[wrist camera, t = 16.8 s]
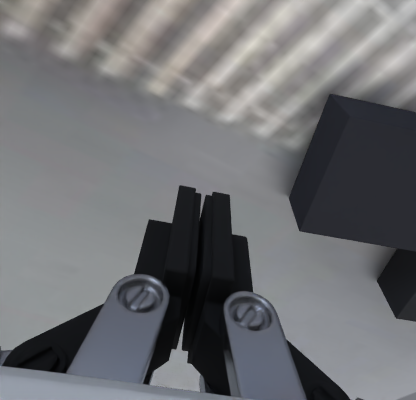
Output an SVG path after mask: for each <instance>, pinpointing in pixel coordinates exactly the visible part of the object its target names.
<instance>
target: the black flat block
mask: <svg viewBox="0 0 416 400" xmlns="http://www.w3.org/2000/svg"><path fill="white" fill-rule="evenodd" d="M377 282H378V284H379V286H380V288H381V290H382V292H383V294H384V296H385V298H386V300H387V302H388V304H389V306H390V308H391V310H392V312H393V313H394V315H395V317H396V318H397V319H403V320H410V321H416V252H415V251H410V250H404V249H397V251H396V252H395V254H394V256H393V257H392V259H391V260H390V262H389V263H388V265H387V266H386V268H385V269H384V271H383V273H382V274H381V276H380V277H379V279H378V280H377Z"/></svg>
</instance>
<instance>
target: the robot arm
mask: <svg viewBox="0 0 416 400" xmlns="http://www.w3.org/2000/svg"><path fill="white" fill-rule="evenodd" d="M195 191H196V188H191V187H186V186H181V185H180V186H179V191H178V196H177V201H176V206H175V211H174V217H173V222H172V223H167V222H161V221H155V220H150V219H149V221H148V225H147V228H146V232H145V236H144V240H143V243H142V247H141V251H140V254H139V258H138V262H137V265H136V269H135V273H134V274H133V275H129V276H126V277H124V278H122V279H121V280H119V281H118V282H117V283H116V284H115V286H114V287H113V289H112V290H111V292H110V294H109V296H108V298H107V299H106V301H105V303H104V304H102V305H100V306H98V307H96V308H94V309H92V310H90V311H88V312H85V313H83V314H81V315H79V316H77V317H75V318H73V319H71V320H69V321H67V322H65V323H63V324H61V325H59V326H56V327H54V328H52V329H50V330H48V331H46V332H44V333H42V334H40V335H38V336H36V337H34V338H32V339H30V340H27V341H25V342H24V343H22V344H21V345H19V346H17V347H16V348H15V349H14V350H6V351H1V346H0V400H350V399H349V397H348V396H347V394H346V393H345V392H344V391H343V390H342V389H341V388H340V387H339V386H338V385H337V384H336V383H335V382H333V381H332V380H331V379H330V378H329V377H328V376H327V375H326V374H325V373H323V372H322V371H321V370H320V369H319V368H318V367H317V366H316V365H314V364H313V363H312V362H311V361H310V360H309V359H308V358H307V357H305V356H304V355H303V354H302V353H301V352H300V351H299V350H298V349H297V348H295V347H294V346H293V345H292V344H291V343H290V342H289V341H288V340H286V338H285V335H284V332H283V329H282V326H281V323H280V320H279V318H278V315H277V312H276V310H275V309H274V307H273V306H272V304H271V303H270V302H269V301H268V300H266V299H265V298H263V297H262V296H260V295H258V294H255V293H253V287H252V278H251V269H250V260H249V251H248V242H247V238H246V237H244V236H239V235H233V234H232V228H231V210H230V195H228V194H223V193H218V192H213V193H212V196H210V195H206V197H205V200H204V205H203V209H202V213H201V217H200V206H201V194H200V193H195ZM199 220H200V221H199ZM184 318H185V319H184ZM183 322H184V330H183V340H182V350H183V351H188V361H187V363H190V364H192V365H193V366H194V367H195V368H196V370H197V371H198V372H199V373H200V374H201V375H200V381H199V385H200V392H196V391H188V390H181V389H174V388H167V387H159V386H152V385H150V383H151V380H152V377H153V372H154V370H156V369H157V368H159V367H160V366H162V365H163V364H164V363H166V362H167V361H169V357H170V353H171V349H177V345H178V341H179V337H180V333H181V329H182V326H183ZM356 400H363V399H360V398H358V397H357V398H356Z"/></svg>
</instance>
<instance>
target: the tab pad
mask: <svg viewBox="0 0 416 400" xmlns="http://www.w3.org/2000/svg"><path fill="white" fill-rule="evenodd" d="M289 200H290V203H291V206H292V210H293V213H294V216H295V219H296V222H297V225H298V228H299V231H301V232H307V233H313V234H318V235H324V236H330V237H335V238H341V239H347V240H353V241H358V242H364V243H370V244H375V245H381V246H387V247H393V248H398V249H404V250H410V251H415V252H416V112H412V111H407V110H402V109H398V108H393V107H389V106H384V105H379V104H375V103H370V102H366V101H361V100H357V99H352V98H347V97H343V96H338V95H334V94H330V95H329V97H328V100H327V102H326V105H325V107H324V110H323V112H322V115H321V118H320V120H319V123H318V125H317V128H316V130H315V133H314V135H313V138H312V141H311V143H310V146H309V148H308V151H307V153H306V156H305V158H304V161H303V163H302V166H301V169H300V171H299V174H298V176H297V179H296V181H295V184H294V186H293V189H292V191H291V194H290V197H289Z"/></svg>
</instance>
